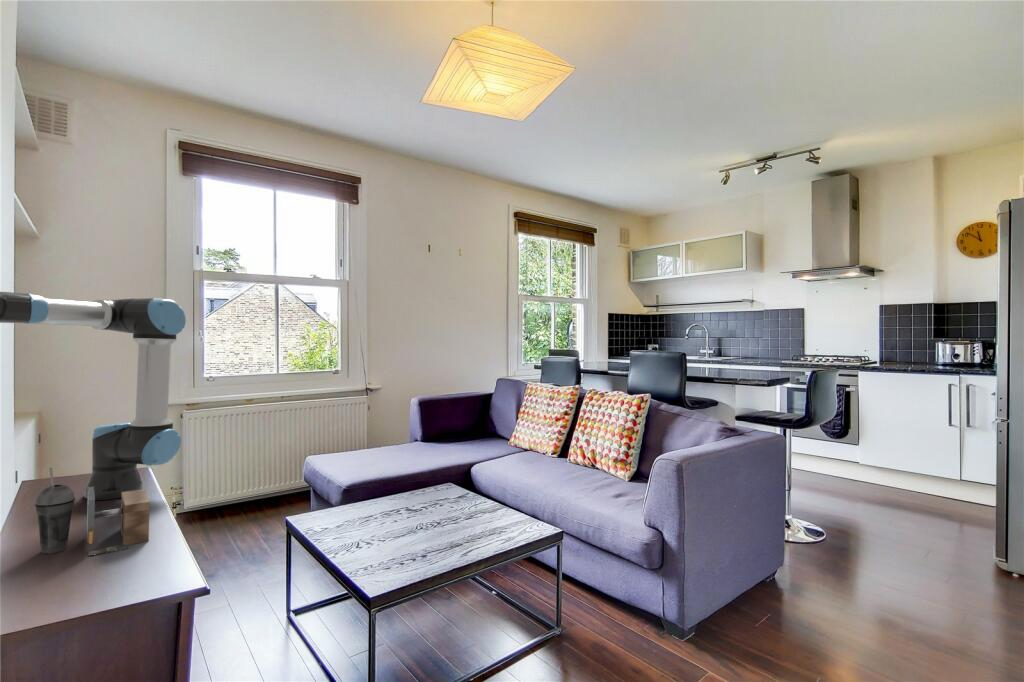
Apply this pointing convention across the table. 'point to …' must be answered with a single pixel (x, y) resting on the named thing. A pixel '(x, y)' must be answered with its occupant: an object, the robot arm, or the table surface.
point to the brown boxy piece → (132, 520)
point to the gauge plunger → (96, 514)
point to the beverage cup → (54, 516)
